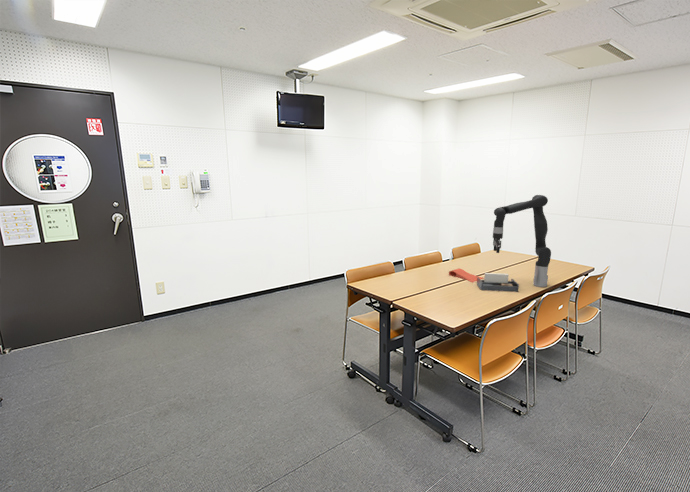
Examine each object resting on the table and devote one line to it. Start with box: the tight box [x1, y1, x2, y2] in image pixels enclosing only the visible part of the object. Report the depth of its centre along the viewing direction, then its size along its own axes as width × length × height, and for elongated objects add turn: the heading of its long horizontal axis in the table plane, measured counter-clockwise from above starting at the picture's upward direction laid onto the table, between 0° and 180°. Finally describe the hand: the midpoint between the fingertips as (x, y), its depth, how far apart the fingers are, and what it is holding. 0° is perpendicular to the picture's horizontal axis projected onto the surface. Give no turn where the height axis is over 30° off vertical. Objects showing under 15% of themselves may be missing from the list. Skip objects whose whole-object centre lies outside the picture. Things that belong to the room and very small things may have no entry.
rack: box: [476, 278, 520, 293], centre depth 282 cm, size 28×15×6 cm, turn 82°
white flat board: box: [483, 272, 509, 283], centre depth 286 cm, size 18×2×11 cm, turn 82°
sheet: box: [448, 268, 484, 283], centre depth 313 cm, size 5×30×24 cm
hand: (496, 251), depth 287 cm, fingers open, 8 cm apart
